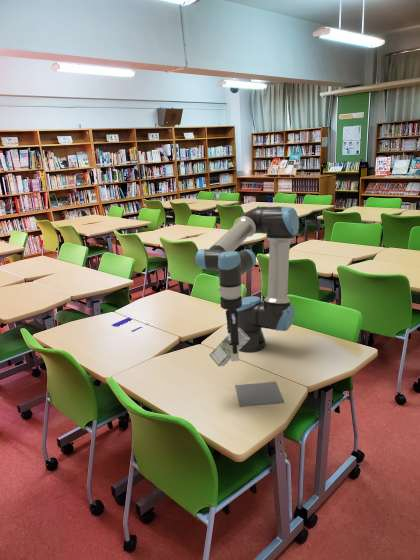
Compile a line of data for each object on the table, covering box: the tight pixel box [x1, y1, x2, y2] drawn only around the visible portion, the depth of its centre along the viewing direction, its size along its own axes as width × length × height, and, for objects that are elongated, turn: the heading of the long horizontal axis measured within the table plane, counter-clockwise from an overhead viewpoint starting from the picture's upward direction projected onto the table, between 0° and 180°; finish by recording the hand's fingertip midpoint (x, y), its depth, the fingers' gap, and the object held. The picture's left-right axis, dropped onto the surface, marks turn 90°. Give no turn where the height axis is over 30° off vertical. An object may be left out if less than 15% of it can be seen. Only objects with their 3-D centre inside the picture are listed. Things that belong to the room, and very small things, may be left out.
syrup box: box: [209, 327, 250, 367], centre depth 152 cm, size 6×6×14 cm
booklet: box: [111, 317, 149, 333], centre depth 230 cm, size 12×25×1 cm, turn 52°
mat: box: [235, 381, 285, 407], centre depth 158 cm, size 14×16×1 cm
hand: (233, 355), depth 153 cm, fingers closed on syrup box, 8 cm apart
